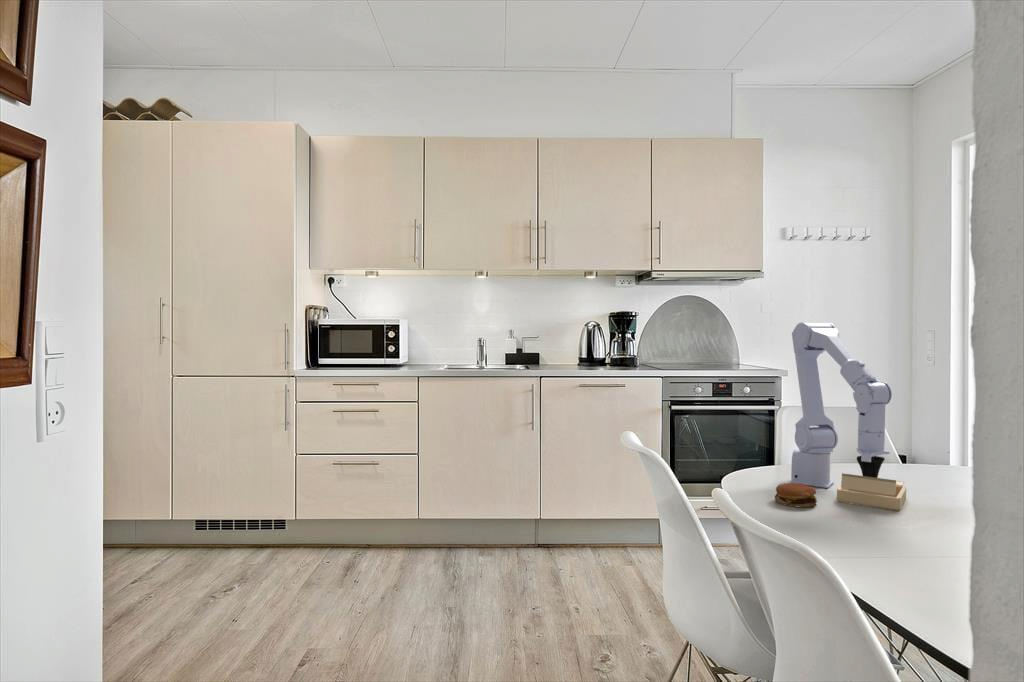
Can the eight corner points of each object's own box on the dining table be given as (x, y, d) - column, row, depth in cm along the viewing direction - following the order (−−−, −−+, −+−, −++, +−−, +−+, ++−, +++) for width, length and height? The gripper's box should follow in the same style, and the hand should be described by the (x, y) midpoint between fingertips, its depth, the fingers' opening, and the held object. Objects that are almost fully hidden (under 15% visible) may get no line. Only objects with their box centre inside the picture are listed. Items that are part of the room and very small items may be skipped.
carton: (836, 501, 163) (836, 489, 163) (846, 490, 174) (847, 478, 174) (899, 511, 155) (899, 498, 155) (906, 498, 166) (906, 486, 166)
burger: (769, 497, 167) (770, 479, 166) (808, 498, 166) (808, 480, 166) (782, 508, 157) (782, 489, 157) (822, 510, 156) (823, 490, 156)
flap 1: (841, 487, 162) (842, 473, 163) (841, 487, 163) (842, 473, 163) (895, 495, 155) (896, 480, 156) (895, 495, 156) (896, 480, 156)
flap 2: (902, 486, 167) (904, 483, 169) (902, 485, 167) (904, 481, 169) (851, 479, 174) (853, 476, 176) (851, 478, 174) (853, 475, 176)
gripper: (885, 437, 153) (884, 495, 153) (894, 429, 164) (892, 483, 165) (852, 433, 157) (850, 490, 157) (862, 426, 169) (861, 478, 169)
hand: (869, 486), depth 161 cm, fingers closed
